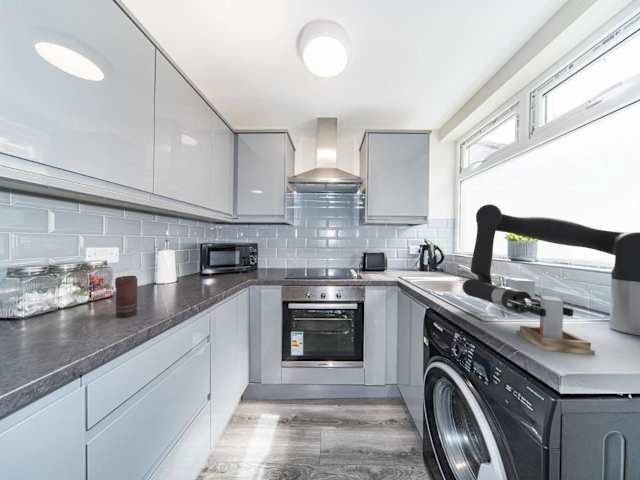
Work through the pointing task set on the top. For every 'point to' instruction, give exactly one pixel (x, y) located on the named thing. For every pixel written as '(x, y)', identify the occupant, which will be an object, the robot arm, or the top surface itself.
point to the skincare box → (551, 317)
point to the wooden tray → (556, 341)
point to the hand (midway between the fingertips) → (558, 313)
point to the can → (126, 296)
